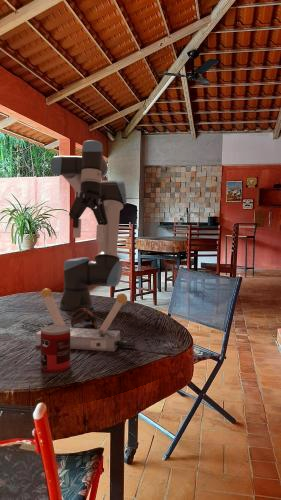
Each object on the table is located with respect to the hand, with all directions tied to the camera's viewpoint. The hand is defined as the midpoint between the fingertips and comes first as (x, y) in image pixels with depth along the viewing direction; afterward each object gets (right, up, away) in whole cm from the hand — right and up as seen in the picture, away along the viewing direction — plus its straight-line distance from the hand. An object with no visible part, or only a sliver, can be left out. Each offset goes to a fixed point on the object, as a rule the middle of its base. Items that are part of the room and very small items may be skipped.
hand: (88, 239), depth 137 cm
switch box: (+2, -35, -14) cm, 38 cm away
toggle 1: (-7, -30, -13) cm, 33 cm away
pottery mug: (-3, -33, +8) cm, 34 cm away
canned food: (-5, -37, -33) cm, 49 cm away
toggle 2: (+6, -30, -15) cm, 34 cm away
